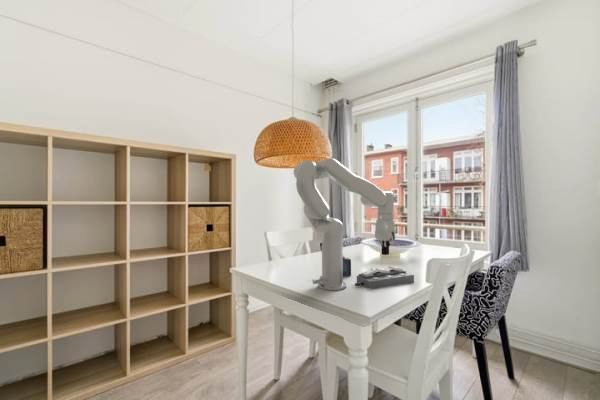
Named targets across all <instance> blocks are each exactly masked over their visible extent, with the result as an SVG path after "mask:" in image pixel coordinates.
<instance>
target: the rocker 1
mask: <svg viewBox="0 0 600 400" xmlns="http://www.w3.org/2000/svg"><path fill="white" fill-rule="evenodd" d="M376 272H377V271H376V270H375V268H368V269H366V270H364V271H362V272H361V274H362V275H364V276H370V275H372V274H374V273H376Z"/></svg>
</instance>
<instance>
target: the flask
mask: <svg viewBox="0 0 600 400" xmlns="http://www.w3.org/2000/svg"><path fill="white" fill-rule="evenodd" d="M343 277H352V260H351V258H349V257H345V256H343Z"/></svg>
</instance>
